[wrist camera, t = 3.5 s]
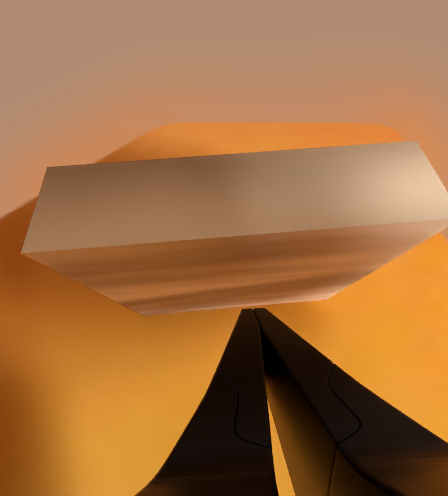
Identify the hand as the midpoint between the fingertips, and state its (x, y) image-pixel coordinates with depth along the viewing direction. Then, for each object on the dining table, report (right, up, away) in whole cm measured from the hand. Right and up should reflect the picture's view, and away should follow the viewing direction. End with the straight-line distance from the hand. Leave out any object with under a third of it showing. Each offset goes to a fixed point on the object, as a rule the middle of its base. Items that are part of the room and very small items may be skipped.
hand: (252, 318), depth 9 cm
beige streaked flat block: (0, 0, +7) cm, 7 cm away
